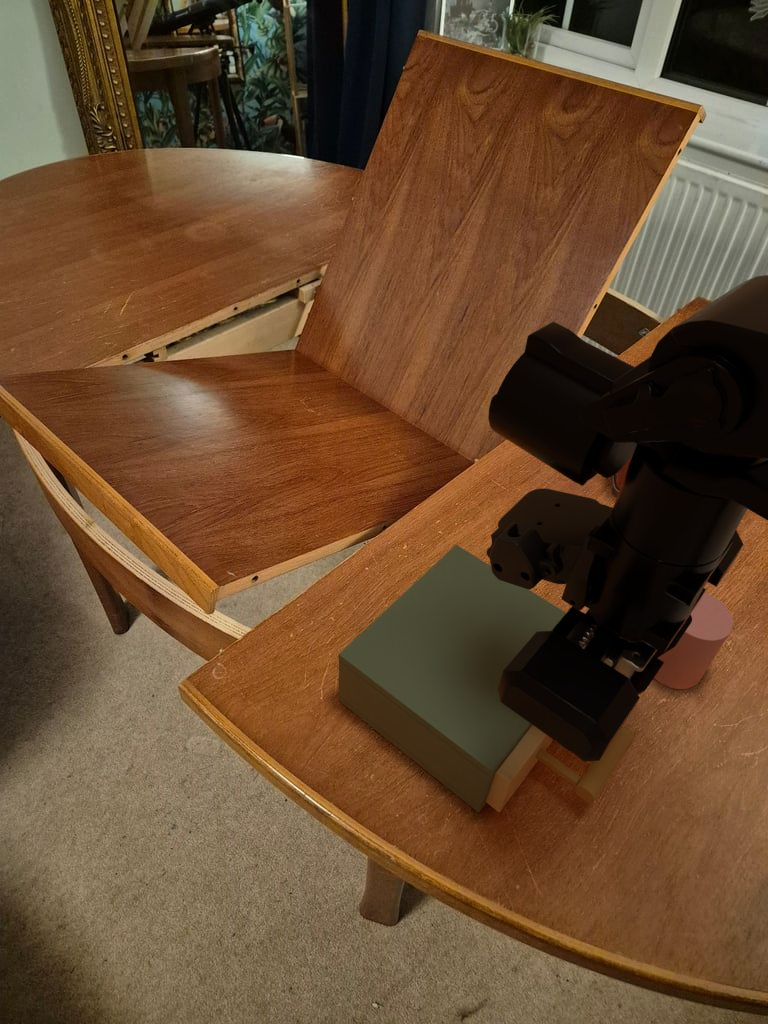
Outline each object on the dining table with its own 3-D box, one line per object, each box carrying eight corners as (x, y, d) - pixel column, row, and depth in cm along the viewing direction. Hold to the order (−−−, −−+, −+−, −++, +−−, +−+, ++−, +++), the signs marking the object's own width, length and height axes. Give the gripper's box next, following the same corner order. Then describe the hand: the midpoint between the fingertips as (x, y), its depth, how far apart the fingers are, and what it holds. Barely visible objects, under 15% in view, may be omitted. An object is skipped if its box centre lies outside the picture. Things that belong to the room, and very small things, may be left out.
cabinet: (580, 680, 61) (600, 633, 56) (478, 813, 53) (492, 771, 48) (447, 593, 67) (456, 544, 62) (338, 700, 59) (338, 653, 54)
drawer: (646, 723, 58) (665, 690, 54) (557, 859, 50) (573, 831, 47) (465, 604, 65) (473, 569, 62) (365, 707, 57) (367, 673, 54)
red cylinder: (710, 662, 63) (743, 612, 58) (687, 700, 60) (718, 651, 55) (658, 631, 65) (685, 580, 60) (633, 666, 62) (659, 616, 57)
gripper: (613, 381, 46) (560, 548, 57) (432, 546, 36) (410, 710, 47) (791, 462, 42) (696, 626, 53) (642, 679, 31) (562, 827, 42)
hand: (594, 687), depth 49 cm, fingers closed
